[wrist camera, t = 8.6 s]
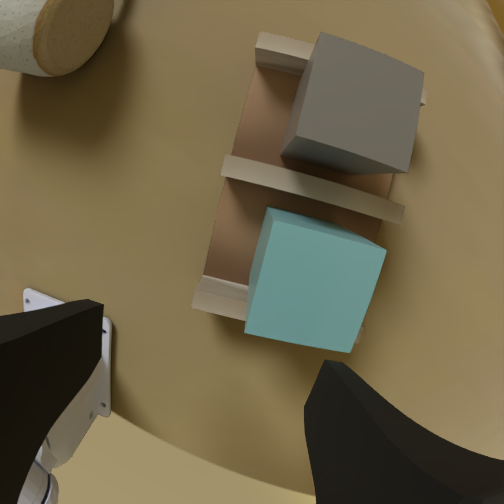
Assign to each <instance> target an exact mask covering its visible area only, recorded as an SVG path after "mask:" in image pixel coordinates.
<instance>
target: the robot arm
mask: <svg viewBox="0 0 504 504" xmlns="http://www.w3.org/2000/svg"><path fill="white" fill-rule="evenodd" d="M23 299H24V312H21V313H16V314H11V315H4V316H0V504H57V503H58V492H59V490H58V482H57V480H56V478H55V476H54V475H53V474H52V473H51V471H52V469H53V468H57V467H59V466H61V465H63V464H64V463H66V462H67V461H68V460H69V459H70V458H71V457H72V455H73V454H74V452H75V450H76V449H77V447H78V445H79V444H80V442H81V441H82V439H83V437H84V436H85V434H86V433H87V431H88V429H89V428H90V426H91V424H92V423H93V421H94V420H95V418H96V416H97V415H98V414H99V415H101V416H104V417H109V416H110V414H111V395H110V368H111V336H112V323H111V321H110V320H109V319H108V318H106V317H103V309H104V304H101V303H98V302H95V301H92V300H89V299H84V300H77V301H72V302H68V303H65V302H62V301H60V300H57V299H55V298H52V297H50V296H47V295H45V294H42V293H40V292H38V291H35V290H33V289H30V288H27V289H25V290H24V292H23ZM28 299H29V301H30V302H29V301H28ZM103 329H104V330H105V331H106V333H104V332H103ZM104 403H105V404H104ZM304 427H305V437H306V443H307V448H308V454H309V459H310V464H311V470H312V475H313V480H314V486H315V494H316V504H504V460H499V459H495V458H491V457H488V456H484V455H481V454H478V453H475V452H472V451H470V450H467V449H465V448H462V447H460V446H458V445H455V444H453V443H451V442H449V441H447V440H445V439H443V438H441V437H439V436H437V435H435V434H434V433H432V432H430V431H429V430H427V429H425V428H424V427H422V426H421V425H419V424H417V423H416V422H414V421H413V420H411V419H410V418H409V417H407V416H406V415H404V414H403V413H402V412H401V411H399V410H398V409H397V408H395V407H394V406H393V405H392V404H390V403H389V402H388V401H387V400H386V399H384V398H383V397H382V396H381V395H380V394H379V393H377V392H376V391H375V390H374V389H373V388H372V387H371V386H369V385H368V384H367V383H366V382H365V381H364V380H363V379H362V378H361V377H359V376H358V375H357V374H356V373H355V372H354V371H353V370H351V369H350V368H349V367H348V366H346V365H345V364H344V363H342V362H336V361H330V360H324V362H323V365H322V367H321V369H320V372H319V374H318V377H317V379H316V381H315V383H314V386H313V388H312V390H311V393H310V395H309V397H308V399H307V401H306V404H305V406H304Z"/></svg>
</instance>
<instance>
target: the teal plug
mask: <svg viewBox="0 0 504 504" xmlns="http://www.w3.org/2000/svg"><path fill="white" fill-rule="evenodd" d="M386 252H387V250H385V249H384V248H382V247H380V246H378V245H376V244H375V243H373V242H371V241H369V240H367V239H366V238H364V237H362V236H360V235H358V234H356V233H354V232H353V231H351V230H349V229H347V228H345V227H343V226H341V225H339V224H337V223H334V222H330V221H326V220H323V219H319V218H315V217H312V216H308V215H304V214H300V213H296V212H293V211H289V210H285V209H281V208H277V207H273V206H269V205H267V207H266V211H265V215H264V219H263V223H262V227H261V231H260V235H259V239H258V243H257V247H256V251H255V255H254V259H253V263H252V267H251V271H250V275H249V286H248V297H247V308H246V319H245V330H244V333H247V334H251V335H256V336H261V337H265V338H270V339H275V340H280V341H285V342H290V343H295V344H300V345H306V346H311V347H317V348H322V349H328V350H334V351H340V352H346V353H350V352H351V349H352V347H353V344H354V342H355V339H356V337H357V334H358V332H359V329H360V327H361V324H362V322H363V319H364V316H365V314H366V311H367V308H368V306H369V303H370V300H371V297H372V294H373V292H374V289H375V286H376V283H377V280H378V277H379V274H380V271H381V268H382V265H383V262H384V258H385V255H386Z"/></svg>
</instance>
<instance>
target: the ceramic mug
mask: <svg viewBox="0 0 504 504" xmlns="http://www.w3.org/2000/svg"><path fill="white" fill-rule="evenodd" d="M113 8H114V0H0V68H1V69H6V70H12V71H18V72H23V73H27V74H32V75H36V76H44V77H54V76H63V75H66V74H69V73H71V72H73V71H75V70H76V69H78V68H79V67H80V66H82V65H83V64H84V63H85V62H87V61H88V60H89V59H90V57H91V56H92V55H93V54H94V53H95V51H96V50H97V49H98V47H99V46H100V44H101V43H102V41H103V39H104V37H105V35H106V33H107V31H108V29H109V26H110V23H111V19H112V16H113Z"/></svg>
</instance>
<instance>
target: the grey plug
mask: <svg viewBox="0 0 504 504" xmlns="http://www.w3.org/2000/svg"><path fill="white" fill-rule="evenodd" d="M423 81H424V72H422V71H420V70H418V69H416V68H414V67H412V66H410V65H408V64H405V63H403V62H401V61H399V60H397V59H394V58H392V57H390V56H387V55H385V54H382V53H380V52H378V51H375V50H372V49H370V48H367V47H365V46H362V45H359V44H356V43H354V42H351V41H348V40H345V39H342V38H339V37H336V36H333V35H330V34H326V33H323V32H320V35H319V37H318V39H317V42H316V44H315V46H314V49H313V51H312V53H311V56H310V58H309V60H308V63H307V65H306V67H305V70H304V72H303V75H302V77H301V79H300V82H299V84H298V86H297V89H296V93H295V97H294V101H293V105H292V109H291V113H290V117H289V121H288V125H287V129H286V133H285V137H284V141H283V145H282V149H281V153H280V155H281V156H284V157H288V158H292V159H296V160H299V161H303V162H306V163H310V164H313V165H317V166H320V167H324V168H327V169H330V170H333V171H337V172H340V173H343V174H346V175H349V176H354V175H371V174H391V173H408V169H409V164H410V160H411V155H412V150H413V145H414V140H415V134H416V128H417V123H418V117H419V110H420V103H421V96H422V89H423Z"/></svg>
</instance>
